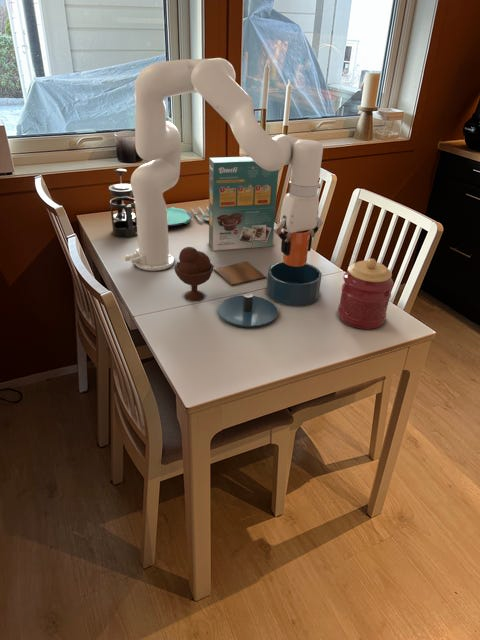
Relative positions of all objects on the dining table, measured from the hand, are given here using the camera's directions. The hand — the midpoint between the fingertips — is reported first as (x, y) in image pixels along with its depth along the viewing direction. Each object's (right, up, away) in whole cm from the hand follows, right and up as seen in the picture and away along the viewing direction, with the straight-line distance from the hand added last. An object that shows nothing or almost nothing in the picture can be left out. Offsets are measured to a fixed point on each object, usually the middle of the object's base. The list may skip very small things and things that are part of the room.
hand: (295, 251), depth 143 cm
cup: (0, -3, +2) cm, 3 cm away
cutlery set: (-40, +20, +55) cm, 71 cm away
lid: (-14, -17, -4) cm, 22 cm away
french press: (-58, +12, +42) cm, 72 cm away
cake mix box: (-15, +7, +37) cm, 40 cm away
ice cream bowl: (-29, -13, +3) cm, 32 cm away
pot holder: (-16, -5, +17) cm, 24 cm away
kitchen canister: (+18, -19, -4) cm, 26 cm away
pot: (0, -12, +7) cm, 14 cm away
